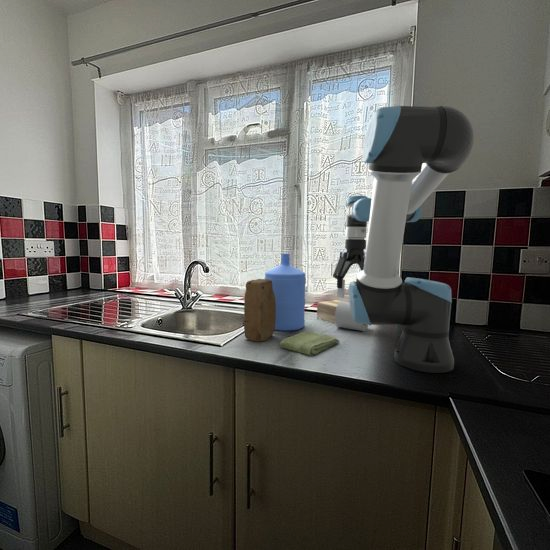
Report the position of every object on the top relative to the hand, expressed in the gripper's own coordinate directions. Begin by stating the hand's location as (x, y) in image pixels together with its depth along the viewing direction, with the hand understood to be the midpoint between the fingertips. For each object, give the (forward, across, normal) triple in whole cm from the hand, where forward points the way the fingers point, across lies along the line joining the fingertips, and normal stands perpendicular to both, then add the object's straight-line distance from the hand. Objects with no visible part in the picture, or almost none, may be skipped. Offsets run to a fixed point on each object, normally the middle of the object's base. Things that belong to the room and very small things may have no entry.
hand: (353, 295), depth 126 cm
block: (+13, -36, +9) cm, 39 cm away
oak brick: (+13, +7, +13) cm, 20 cm away
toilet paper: (+13, 0, 0) cm, 13 cm away
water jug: (+13, -20, +16) cm, 29 cm away
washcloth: (+13, -27, -6) cm, 31 cm away
